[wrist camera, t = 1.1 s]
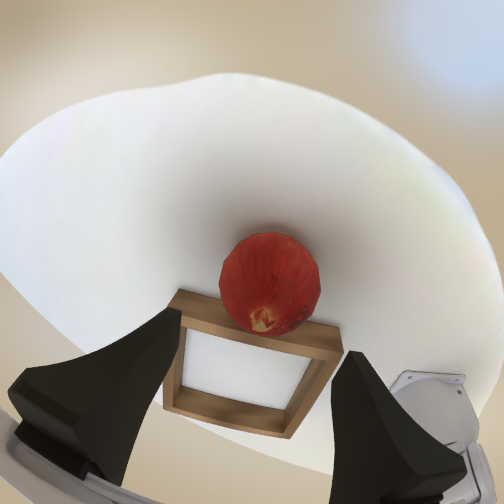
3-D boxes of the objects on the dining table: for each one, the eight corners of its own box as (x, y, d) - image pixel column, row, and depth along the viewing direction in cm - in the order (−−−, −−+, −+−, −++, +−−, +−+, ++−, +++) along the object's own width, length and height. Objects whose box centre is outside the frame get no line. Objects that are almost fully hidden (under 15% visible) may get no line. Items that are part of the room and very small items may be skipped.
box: (339, 328, 22) (344, 353, 19) (290, 416, 27) (289, 439, 24) (178, 288, 22) (164, 309, 19) (172, 388, 27) (163, 408, 24)
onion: (332, 253, 19) (354, 323, 12) (279, 307, 22) (272, 387, 14) (265, 200, 18) (250, 245, 11) (216, 262, 21) (179, 331, 13)
